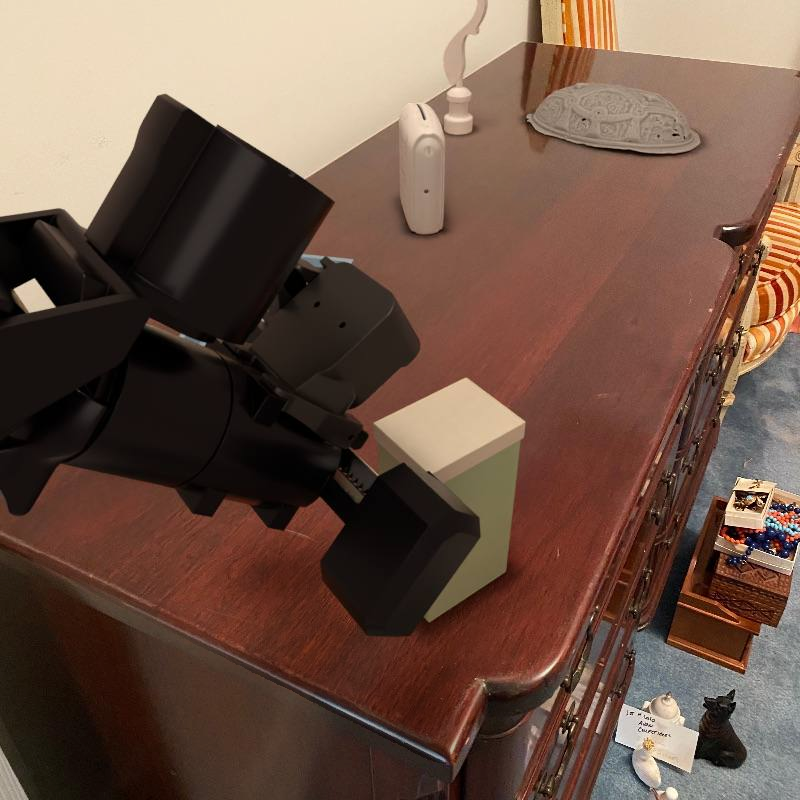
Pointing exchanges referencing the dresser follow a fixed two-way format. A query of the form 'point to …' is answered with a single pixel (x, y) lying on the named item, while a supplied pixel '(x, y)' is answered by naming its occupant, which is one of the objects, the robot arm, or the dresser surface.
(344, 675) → the dresser surface
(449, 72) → the decorative finial
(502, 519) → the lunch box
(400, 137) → the photo printer
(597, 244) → the dresser surface
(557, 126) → the grey textured dome
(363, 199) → the dresser surface
